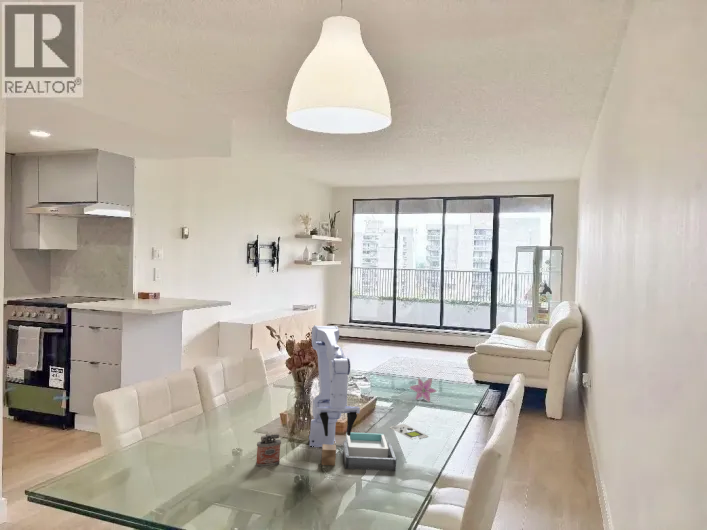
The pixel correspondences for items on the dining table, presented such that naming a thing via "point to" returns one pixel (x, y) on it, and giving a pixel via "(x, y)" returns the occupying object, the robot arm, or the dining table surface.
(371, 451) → the tray
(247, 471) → the dining table surface
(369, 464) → the dock
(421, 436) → the handheld gaming device
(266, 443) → the lighter
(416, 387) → the lily
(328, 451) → the walnut block
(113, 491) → the dining table surface
